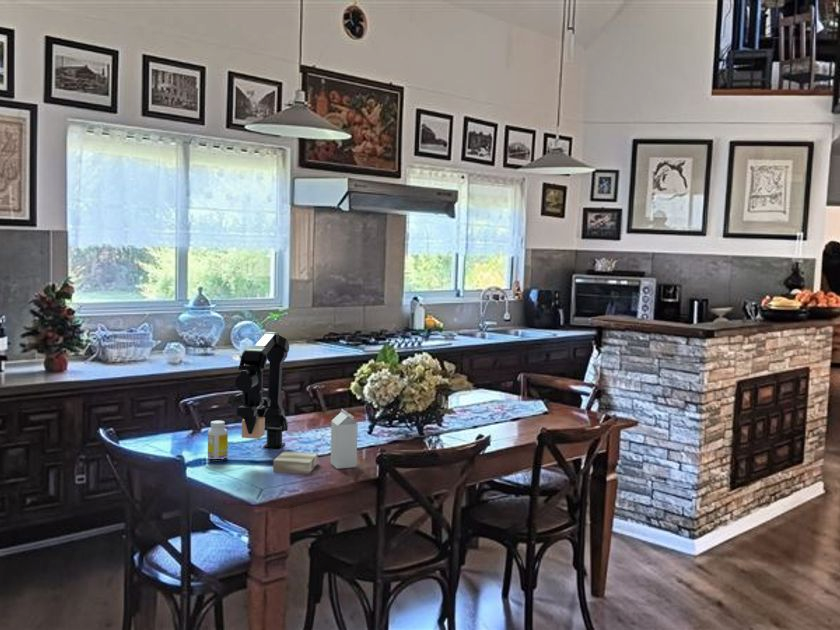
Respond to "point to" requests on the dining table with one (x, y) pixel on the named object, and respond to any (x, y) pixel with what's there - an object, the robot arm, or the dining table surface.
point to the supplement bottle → (217, 440)
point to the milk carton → (344, 441)
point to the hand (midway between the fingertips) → (253, 431)
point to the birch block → (295, 462)
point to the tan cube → (257, 431)
